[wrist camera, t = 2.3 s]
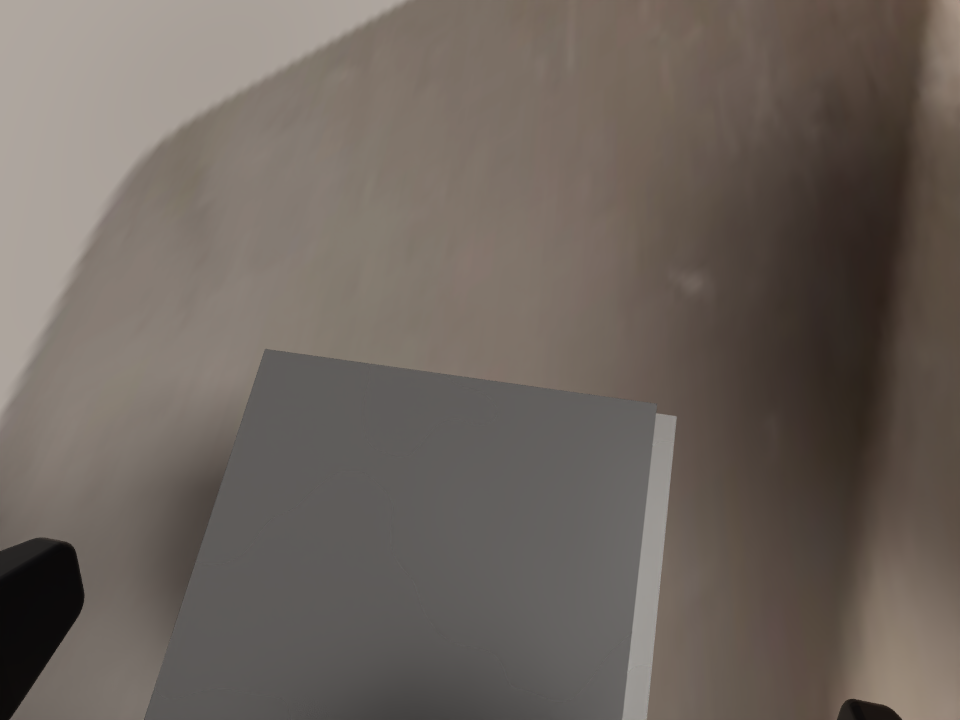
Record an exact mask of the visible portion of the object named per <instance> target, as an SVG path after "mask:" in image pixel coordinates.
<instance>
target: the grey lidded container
mask: <svg viewBox="0 0 960 720" xmlns="http://www.w3.org/2000/svg"><path fill="white" fill-rule="evenodd" d="M656 410H657V404H655V403H647V402H640V401H633V400H626V399H619V398H612V397H605V396H597V395H590V394H583V393H576V392H569V391H562V390H554V389H547V388H540V387H533V386H526V385H519V384H512V383H504V382H497V381H490V380H483V379H476V378H469V377H462V376H454V375H447V374H440V373H433V372H426V371H419V370H411V369H404V368H397V367H390V366H383V365H376V364H369V363H361V362H354V361H347V360H340V359H333V358H326V357H319V356H311V355H304V354H297V353H290V352H283V351H276V350H268V349H265V351H264V354H263V357H262V360H261V363H260V366H259V369H258V372H257V375H256V378H255V381H254V384H253V387H252V391H251V394H250V397H249V400H248V403H247V406H246V409H245V412H244V415H243V418H242V421H241V424H240V427H239V430H238V433H237V436H236V440H235V443H234V446H233V449H232V452H231V455H230V458H229V461H228V464H227V467H226V470H225V473H224V476H223V479H222V482H221V486H220V489H219V492H218V495H217V498H216V501H215V504H214V507H213V510H212V513H211V516H210V519H209V522H208V525H207V528H206V531H205V535H204V538H203V541H202V544H201V547H200V550H199V553H198V556H197V559H196V562H195V565H194V568H193V571H192V574H191V577H190V580H189V584H188V587H187V590H186V593H185V596H184V599H183V602H182V605H181V608H180V611H179V614H178V617H177V620H176V623H175V626H174V629H173V633H172V636H171V639H170V642H169V645H168V648H167V651H166V654H165V657H164V660H163V663H162V666H161V669H160V672H159V675H158V678H157V682H156V685H155V688H154V691H153V694H152V697H151V700H150V703H149V706H148V709H147V712H146V715H145V718H144V720H647V710H648V700H649V690H650V680H651V670H652V660H653V650H654V640H655V630H656V619H657V609H658V599H659V589H660V579H661V569H662V559H663V549H664V539H665V529H666V519H667V509H668V499H669V488H670V478H671V468H672V458H673V448H674V438H675V428H676V418H677V416H671V415H664V414H657V413H656Z"/></svg>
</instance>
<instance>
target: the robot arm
mask: <svg viewBox="0 0 960 720" xmlns="http://www.w3.org/2000/svg"><path fill="white" fill-rule="evenodd" d="M84 596H85V595H84V589H83V584H82V579H81V574H80V569H79V564H78V559H77V554H76V551H75V549H74V547H73V546H72V545H71V544H69V543H67V542H64V541H59V540H54V539H49V538H35V539H32V540H29V541H26V542H24V543H21V544H18V545H16V546H13V547H10V548H8V549H5V550H2V551H0V720H10V718H11V717H12V715H13V714H14V712H15V711H16V710H17V708H18V707H19V705H20V704H21V702H22V701H23V699H24V698H25V696H26V695H27V693H28V692H29V690H30V689H31V687H32V686H33V684H34V683H35V681H36V680H37V678H38V676H39V675H40V673H41V672H42V670H43V669H44V667H45V666H46V664H47V663H48V661H49V660H50V658H51V657H52V655H53V654H54V652H55V651H56V649H57V648H58V646H59V645H60V643H61V642H62V640H63V639H64V637H65V636H66V634H67V633H68V631H69V630H70V628H71V627H72V625H73V624H74V622H75V621H76V619H77V618H78V616H79V614H80V612H81V610H82V607H83V603H84ZM837 720H902V719H901V718H900V716H899V715H898V714H897V713H896V712H895V711H893V710H892V709H891V708H889V707H887V706H885V705H881V704H876V703H871V702H866V701H861V700H856V699H849V700H847V701H845V702H844V704H843V705H842V707H841V709H840V712H839V715H838V718H837Z"/></svg>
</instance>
